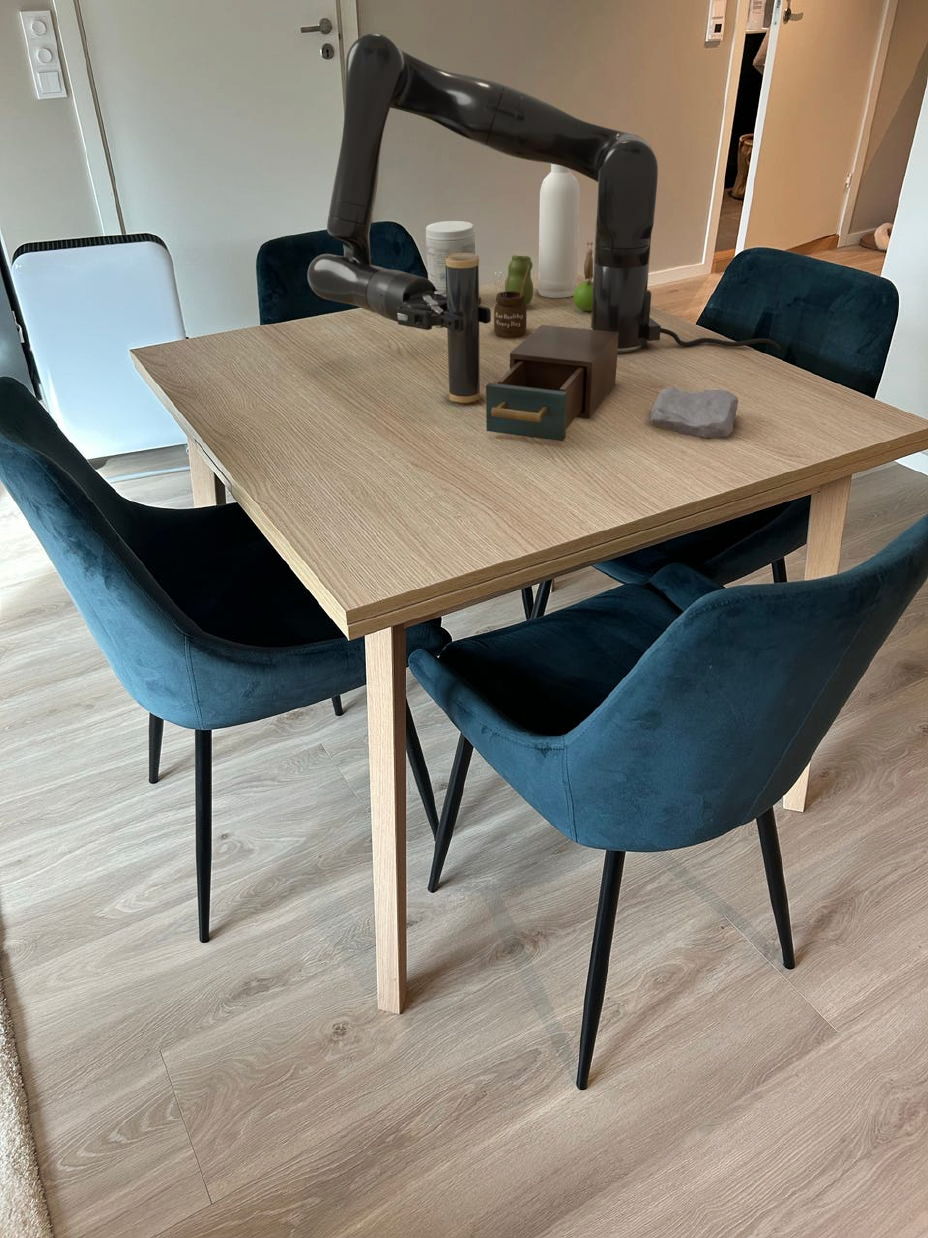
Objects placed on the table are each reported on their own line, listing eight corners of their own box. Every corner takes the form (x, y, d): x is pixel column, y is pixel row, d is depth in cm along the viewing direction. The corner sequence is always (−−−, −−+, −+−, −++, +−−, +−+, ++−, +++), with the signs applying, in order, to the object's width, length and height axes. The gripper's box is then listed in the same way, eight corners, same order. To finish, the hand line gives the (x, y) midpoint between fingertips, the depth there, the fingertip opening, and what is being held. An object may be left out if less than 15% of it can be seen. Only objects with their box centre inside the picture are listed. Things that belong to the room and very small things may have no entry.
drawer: (554, 452, 132) (555, 404, 128) (476, 441, 136) (475, 394, 132) (590, 407, 145) (592, 362, 141) (518, 398, 149) (518, 354, 145)
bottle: (551, 285, 205) (554, 127, 188) (583, 291, 201) (590, 129, 184) (530, 295, 199) (532, 132, 183) (563, 300, 195) (568, 134, 179)
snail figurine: (600, 305, 192) (604, 241, 185) (601, 314, 187) (604, 249, 180) (573, 304, 193) (575, 241, 186) (572, 314, 187) (575, 249, 181)
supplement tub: (467, 293, 201) (465, 218, 193) (483, 305, 194) (482, 227, 186) (422, 299, 199) (418, 223, 190) (437, 311, 191) (434, 232, 183)
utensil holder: (495, 328, 181) (495, 261, 175) (529, 328, 180) (530, 261, 174) (492, 338, 176) (491, 269, 170) (526, 338, 176) (527, 270, 169)
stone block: (729, 451, 137) (738, 412, 143) (731, 422, 133) (740, 384, 140) (644, 445, 140) (657, 407, 147) (645, 416, 137) (658, 379, 144)
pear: (501, 309, 191) (501, 256, 186) (510, 301, 195) (510, 250, 190) (528, 311, 190) (528, 258, 184) (537, 304, 194) (537, 251, 188)
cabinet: (589, 419, 144) (592, 362, 139) (509, 408, 148) (509, 353, 143) (615, 385, 155) (618, 331, 150) (540, 377, 159) (541, 324, 154)
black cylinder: (476, 389, 154) (474, 251, 142) (483, 401, 150) (482, 259, 138) (445, 392, 153) (441, 253, 141) (452, 404, 149) (448, 262, 137)
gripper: (363, 281, 147) (438, 304, 136) (435, 264, 155) (510, 284, 144) (367, 331, 151) (439, 356, 141) (436, 311, 159) (510, 334, 149)
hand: (475, 320), depth 143 cm, fingers closed on black cylinder, 5 cm apart
